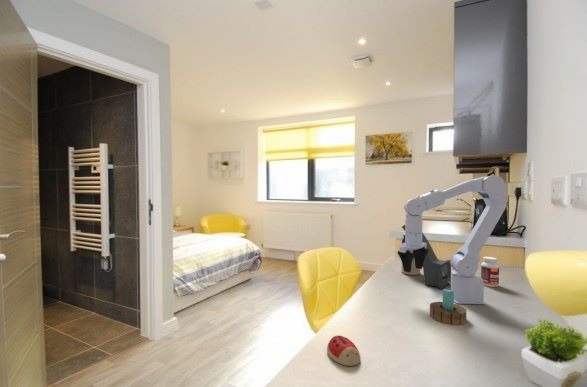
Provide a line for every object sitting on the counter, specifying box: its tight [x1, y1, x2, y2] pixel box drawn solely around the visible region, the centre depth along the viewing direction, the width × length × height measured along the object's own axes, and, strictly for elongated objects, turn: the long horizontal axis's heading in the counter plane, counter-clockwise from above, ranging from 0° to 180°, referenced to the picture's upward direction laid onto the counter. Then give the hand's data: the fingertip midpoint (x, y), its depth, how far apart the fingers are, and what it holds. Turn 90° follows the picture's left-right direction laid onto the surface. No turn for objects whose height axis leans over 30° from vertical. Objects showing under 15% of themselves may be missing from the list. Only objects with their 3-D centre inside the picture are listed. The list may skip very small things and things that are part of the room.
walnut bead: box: [429, 301, 467, 326], centre depth 91 cm, size 10×10×3 cm
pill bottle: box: [480, 256, 500, 288], centre depth 123 cm, size 6×6×11 cm
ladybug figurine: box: [326, 335, 361, 367], centre depth 70 cm, size 7×10×4 cm
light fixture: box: [401, 224, 452, 290], centre depth 126 cm, size 11×17×24 cm, turn 45°
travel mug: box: [401, 232, 421, 276], centre depth 140 cm, size 8×8×18 cm
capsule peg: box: [441, 288, 455, 311], centre depth 91 cm, size 3×3×8 cm
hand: (413, 270), depth 109 cm, fingers open, 7 cm apart
